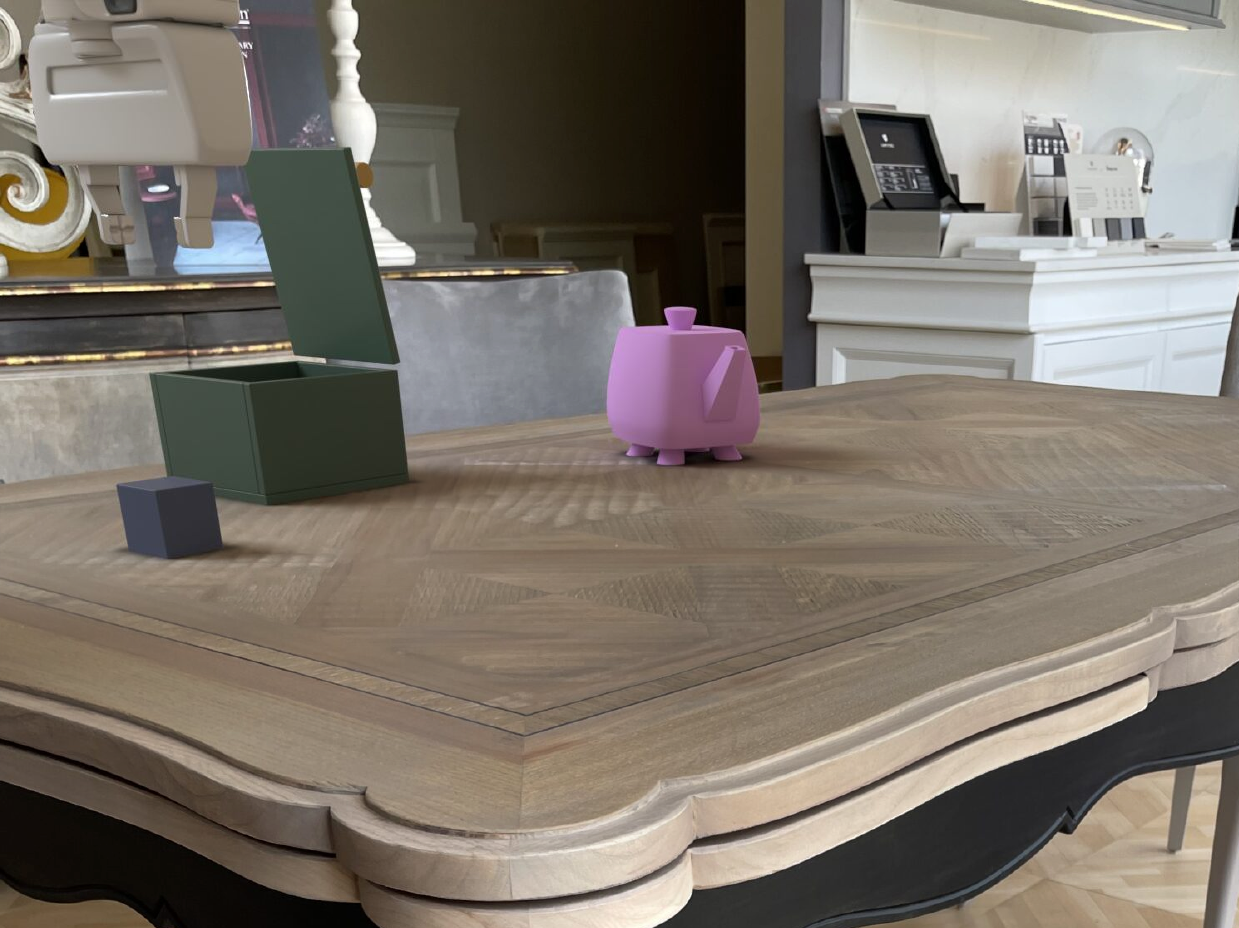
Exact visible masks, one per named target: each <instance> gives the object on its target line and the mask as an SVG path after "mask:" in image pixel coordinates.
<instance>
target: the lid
mask: <svg viewBox="0 0 1239 928" xmlns="http://www.w3.org/2000/svg"><path fill="white" fill-rule="evenodd" d="M242 167H243V170H244V174H245V178H246V181H247V185H248V189H249V192H250V197H251V201H252V204H253V207H254V211H255V216H256V218H257V222H258V227H259V230H260V234H261V237H262V241H263V244H264V248H265V252H266V257H267V259H268V263H269V267H270V271H271V275H272V278H273V282H274V285H275V289H276V293H277V297H278V300H279V305H280V307H281V312H282V316H283V319H284V323H285V327H286V331H287V335H288V338H289V342H290V345H291V346H290V347H291V349H292V353H293V355H294V356H296V357H297V356H298V357H305V358H316V359H317V358H318V359H326V360H327V359H328V360H338V361H348V362H361V363H370V364H379V365H380V364H381V365H391V366H394V365H397V364H400V363H401V359H400V354H399V350H398V346H397V341H396V336H395V332H394V328H393V324H392V321H391V320H392V319H391V315H390V311H389V306H388V302H387V297H386V293H385V289H384V284H383V281H382V275H381V272H380V267H379V263H378V258H377V253H376V250H375V245H374V241H373V237H372V232H371V227H370V224H369V219H368V215H367V210H366V207H365V206H366V205H365V202H364V197H363V193H362V189H368V188H370V187H371V186H372V185H373V183H374V172H373V169H372V168H371V166H370V165H369V164H368V163H367V162H365V161H355V158H354V154H353V150H352V147H351V146H324V147H323V146H321V147H320V146H319V147H314V146H313V147H252V148H251V152H250V156H249V159H248V162H247V164H246V165H244V166H242Z"/></svg>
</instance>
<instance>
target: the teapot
mask: <svg viewBox="0 0 1239 928" xmlns="http://www.w3.org/2000/svg"><path fill="white" fill-rule="evenodd" d="M663 311H664V315H665V318H666V321H667V324H668V325H645V326H623V327H620V329H619V330H618V332H617V333H618V334H617V337H616V341H615V344H614V350H613V353H612V357H611V362H610V367H609V372H608V380H607V391H606V415H607V421H608V423H609V426H610V429H611V430H612V433H613V434H614V436H615V438H618V440H621V441H624V442H626V443H627V442H628V443H631V445H630V446H629V448H628V450H627V452H626V453H625V455H626V456H628V457H651V456H653V455H654V452H655V449H659V453H658V457H657V461H656V464H657V465H661V466H678V465H679V466H680V465H684V464H685V462H686V461H685V452H687V453H688V452H690V453H706V452H710V448H711V450H712V453H713V457H714V459H715V460H719V461H739V460H742V459H743V457H742V456H741V453H740V452H739V450H738V449H737V447H736V446H741V445H749V444H752V443H753V442H754V440H755V438H756V437H757V435H758V434H757V433H758V431H759V427H760V426H761V425H760V424H761V401H760V393H759V386H758V381H757V377H756V372H755V368H754V363H753V361H752V357H751V354H750V350H749V347H748V342H747V340H746V337H745V334H744V333H743V331H741V330H737V329H732V328H726V327H718V326H708V325H699V324H698V325H695V324H694V322H695V320H696V315H697V309H696V308H694V307H690V306H689V307H688V306H671V307H666V308H664V309H663Z"/></svg>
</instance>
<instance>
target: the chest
mask: <svg viewBox="0 0 1239 928" xmlns="http://www.w3.org/2000/svg"><path fill="white" fill-rule="evenodd" d="M148 376H149V381H150V387H151V392H152V398H153V404H154V409H155V415H156V421H157V427H158V433H159V438H160V444H161V449H162V455H163V461H164V466H165V472H166V473H165V474H166V477H169V476H176V477H182V478H188V479H194V480H200V481H207V482H212V483H213V487H214V494H215V498H220V499H221V498H222V499H227V500H233V501H239V502H246V503H251V504H256V505H264V506H273V505H278V504H284V503H291V502H296V501H303V500H310V499H314V498H316V499H317V498H322V497H328V496H333V495H334V496H335V495H340V494H346V493H352V492H359V491H364V490H365V491H366V490H371V489H377V488H382V487H383V488H384V487H389V486H396V485H402V484H408V483H409V484H410V474H409V465H408V457H407V445H406V437H405V428H404V426H405V425H404V416H403V408H402V399H401V398H402V397H401V389H400V388H401V387H400V379H399V371H398V370H397V369H392V368H391V369H390V368H381V367H369V366H360V365H349V364H338V363H330V362H329V363H327V362H320V361H319V362H317V361H307V360H288V361H276V362H275V361H274V362H263V363H251V364H240V365H239V364H238V365H237V364H236V365H227V366H226V365H225V366H214V367H202V368H190V369H179V370H178V369H177V370H167V371H165V370H164V371H155V372H149V373H148Z"/></svg>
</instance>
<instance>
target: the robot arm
mask: <svg viewBox="0 0 1239 928" xmlns="http://www.w3.org/2000/svg"><path fill="white" fill-rule="evenodd" d="M239 2H240V1H239V0H40V3H41V6H40V9H39V13H40V15H39V16H38V20H37V24H35V25H34V36H32V38H31V39H30V41H29V42H30V43H29V47H28V54H27V56H28V58H27V59H28V75H29V83H30V94H31V100H32V102H31V103H32V108H33V117H34V124H35V130H36V136H37V141H38V144H39V147H40V150H41V152H42V153H43V155H44V158H45V159H46V160H47V162H48V163H49V165H52V166H66V167H67V166H68V167H77V170H78V176H79V182H80V186H81V188H82V190H83V192H84V194H85V196H86V199H87V200H88V202H89V204H90V206H91V209H92V210H93V212H94V214H95V215H96V218H97V224H98V225H97V226H98V230H99V235H100V239H101V242H103V243H104V244H105V245H117V246H118V245H127V246H128V245H134V244H135V243H136V241H137V235H136V234H137V233H136V232H135V223H134V216H133V214H127V212H126V210H125V207H124V204H123V201H122V198H121V196H120V193H119V190H118V188H117V186H121V180H120V174H119V173H120V172H119V168H118V167H172V168H173V175H174V181H175V185H176V186H177V187H181V188H180V190H181V191H180V207H179V216H173V223H174V229H175V230H176V241H177V242H176V243H177V244H178V245H179V247H181V248H182V249H191V250H192V249H193V250H194V249H195V250H203V249H204V250H206V249H207V250H209V249H212V248H213V247H214V245H215V237H214V232H213V231H214V230H213V223H212V217H213V214H214V213H213V212H214V209H215V204H216V199H217V194H218V190H219V184H218V177H217V171H216V167H243V166H244V165H246V164H247V162H248V159H249V156H250V152H251V148H253V143H254V137H253V136H254V131H253V121H252V111H251V109H252V108H251V101H250V93H249V87H248V86H249V85H248V77H247V72H246V65H245V64H246V63H245V60H244V59H245V58H244V56H243V52H242V51H243V50H242V48H241V45H240V43H239V41H238V38H237V37H236V35H235V34H234V33H233V31H231V30H230V29H231V28H235V27H237V26H238V25H239V24H240V21H241V9H240V3H239Z"/></svg>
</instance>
